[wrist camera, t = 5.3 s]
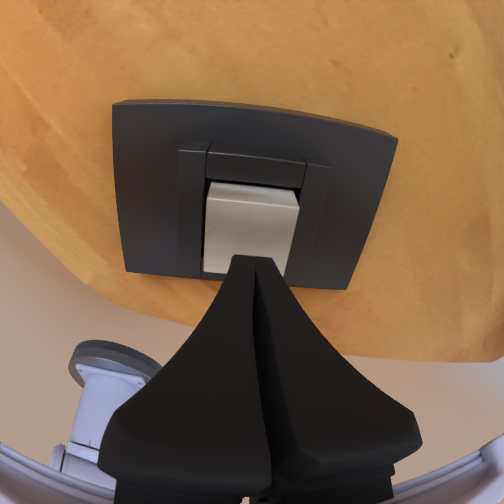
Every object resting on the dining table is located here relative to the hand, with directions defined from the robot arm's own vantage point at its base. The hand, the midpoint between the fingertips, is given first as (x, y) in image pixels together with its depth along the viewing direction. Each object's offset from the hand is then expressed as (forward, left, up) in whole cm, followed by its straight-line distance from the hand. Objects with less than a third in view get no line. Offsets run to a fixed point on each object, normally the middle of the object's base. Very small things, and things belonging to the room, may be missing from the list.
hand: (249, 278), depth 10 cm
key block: (0, 0, -7) cm, 7 cm away
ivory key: (0, 0, -4) cm, 4 cm away
